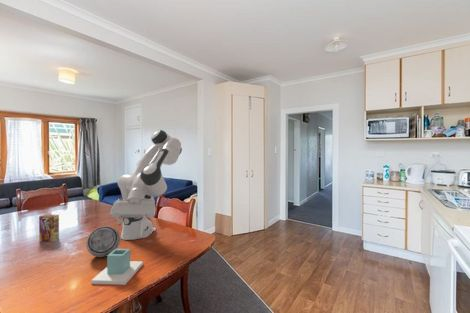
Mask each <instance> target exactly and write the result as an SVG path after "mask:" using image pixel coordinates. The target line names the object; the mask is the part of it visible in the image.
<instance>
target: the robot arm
mask: <svg viewBox="0 0 470 313" xmlns="http://www.w3.org/2000/svg"><path fill="white" fill-rule="evenodd" d="M151 142H152V143H153V145H151V146H150V147H148V149H147V150H146V151H145V152H144V154H143V155H142V156H141V157H140V158H139V160H138V162H136V169H135V171H134V173H133V174H132V173H126V174H122V175H120V176H119V178H118V179H117V187H118V188H119V190H120V193H121V198H122V199H118V200H115V201H114V202H113V204H112V207H111V209H110V212H109V215H110V216H111V217H112V218H116V219H117V223H116V225H117V226H122V227H121V229H122V230H121V232H120V240H121V239H122V240H126V241H131V240H132V241H134V240H137V239H139V240H140V239H145V238H147V237H149V236H150V235H151V234H153V233H154V232H155V231H156V230H157V229H156V227H155V226H154V227H153V222H152V221H151V220H149V219H148V218H154V217H155V216H156V204H155V203H156V202H155V201H156V200H155V197H161V196H162V195H165V193H166V191H167V190H168V185H167V183H166V181H165V178H164V176H163V174H162V168H161V167H162V166H163V165H166V166H167V165H168V166H170V165H171V166H172V165H174V164H176V163H177V162H178V160H179V156H180V155H181V153H182V151H183V148H182V143H181V141H180V139H178V138H176V137H171V135H169V134H168V133H167V132H166V131H164V130H162V129H160V130H159V129H158V130H156V131H155V132H154V133H153V134H152V136H151ZM153 231H154V232H153ZM152 232H153V233H152Z"/></svg>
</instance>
